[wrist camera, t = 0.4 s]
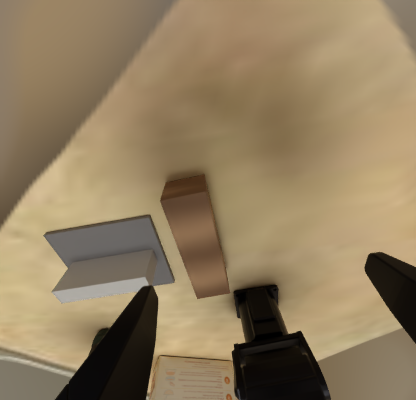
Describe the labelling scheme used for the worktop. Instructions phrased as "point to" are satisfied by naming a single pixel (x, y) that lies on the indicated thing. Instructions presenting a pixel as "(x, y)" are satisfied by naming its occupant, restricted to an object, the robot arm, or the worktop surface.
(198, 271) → the plank
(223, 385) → the coffeecake box
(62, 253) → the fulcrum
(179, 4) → the worktop surface
